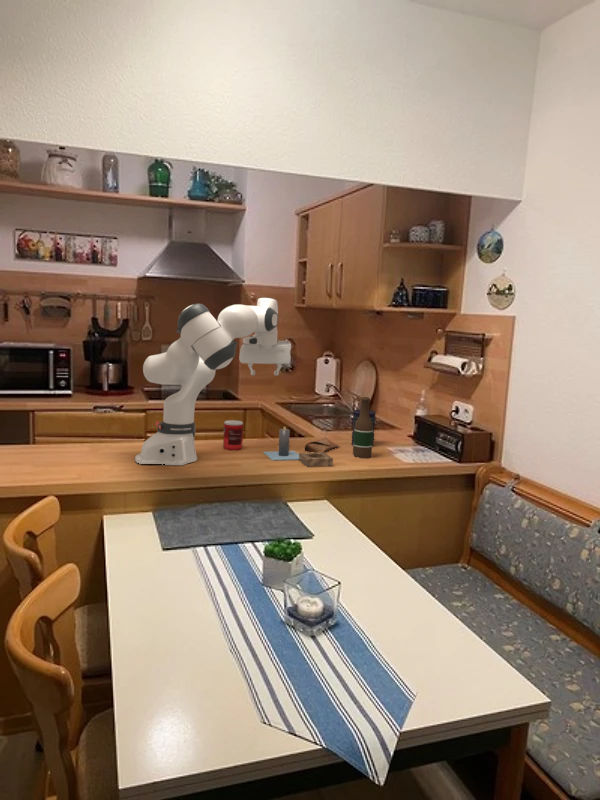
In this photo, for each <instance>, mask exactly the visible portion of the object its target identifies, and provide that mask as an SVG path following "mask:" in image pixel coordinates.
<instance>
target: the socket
mask: <svg viewBox="0 0 600 800" xmlns="http://www.w3.org/2000/svg"><path fill="white" fill-rule="evenodd" d="M298 454H299V460H298V461H299V462H300V461H301V462H302V463H301V462H300V463H301V464H303V466H305V467H306V466H307V467H306V468H314V467H313V466H328V467H333V464H334V458H333V456H332V457H331V456H330V455H329V454H327V452H325V453H324V452H318V453H311V452H299V453H298Z"/></svg>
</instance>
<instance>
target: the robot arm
mask: <svg viewBox="0 0 600 800" xmlns="http://www.w3.org/2000/svg"><path fill="white" fill-rule="evenodd" d="M278 305H279V304H278V300H276V299H275V298H273V297H260V298H258V299H257V303H256V305H246V304H240V303H238V304H234V303H233V304H232V305H228V306H226V307H225V308H223V309H222V310H221V311H220V313H219V314H218V316H217V319H216V318H215V317H214V316H213V314H211V312H210V309H208V307H206V306H205V305H204V304H203V303H194V304H191V305H188V306H187V307H185V308H184V309H183V310H182V311H181V313H180V314H179V315H178V317H177V318H178V319H177V329H175V331H176V333H178V334H179V335H180V336H179V338H178V339H177V340H175V341H174V342H172V343H171V344H170V346H169V347H168V348H167V351H165V352H162V353H157V354H153V355H149V356H148V357H147V358H146V359H145V360H144V363H143V365H142V371H143V376H144V378H145V379H146V380H147V381H148V382H149V383H151V384H152V383H153V384H157V385H165V386H166V385H170V386H171V385H173V386H174V385H175V386H177V385H180V386H181V388H180V390H179V391H177V392H175V393H173V394H171V395H169V396H167V397H166V398H165V400H164V402H163V414H162V415H163V417H162V419H163V420H162V421H159V420H158V421H156V422H155V426H156V428H157V432H156V433H154V434H153V435H151V436H149V438H147V439H146V440H145V441H144V442H143V444H142V446H141V449H140V453H138V454H136V455H135V457H134V462H135V463H137V464H138V463H139V465H141V464H162V465H161V466H184V465H186V464H189V463H194V462H196V461H197V460H198V456H197V452H196V444H195V437H196V436H195V435H196V423H195V408H196V407H195V406H196V402H197V399H198V396H199V394H200V392H201V391H202V390H203V389H204V388H205V387H206V386H207V385H209V384H210V383H211V382H212V381H213V380H214V378H215V376H216V370H221V369H224V368H226V367H227V366H229V365H230V363H231V362H232V361H233V359H234V358H235V356H236V351H237V346H238V342H237V341H235V339H240V338H241V339H242V343H243V344H242V345H241V346H240V349H239V357H238V358H239V360H238V361H239V362H240V363H241V364H247V367H248V368H249V370H250V375H251V376H255V375H256V370H255V369H253V366H254V364H259V365H260V364H261V365H262V364H263V365H267V364H268V365H276V367H277V368H276V370H273V375H274V376H279V374H280V373H279V372H280V371H281V369H282V366H283V365H289V364H290V363H291V362H292V361H291V359H292V358H291V350H292V343H291V342H290V341H288V340H278V332H279V331H278V324H279V307H278ZM252 334H253V335H252ZM163 464H165V465H163Z"/></svg>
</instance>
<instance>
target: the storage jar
mask: <svg viewBox="0 0 600 800" xmlns="http://www.w3.org/2000/svg"><path fill="white" fill-rule="evenodd" d="M352 412H353V415H352V424H353V425H352V432H351V445H352V446H353V441H354V427H355V423H356V420H357V419H358V418H359V415H360V409H354V410H353V411H352ZM376 413H377V411H374V410H370V409H369V416H370V419H371V421H372V424H373V440H372V446H373V447H374V443H375V424H376Z"/></svg>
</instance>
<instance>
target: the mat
mask: <svg viewBox="0 0 600 800" xmlns="http://www.w3.org/2000/svg"><path fill="white" fill-rule="evenodd" d="M278 452H279V450H276V451H275V450H274V451H263V452H262V453H263V454H264V455H265V456H266V455H267V456H268V457H269V458H270V459H271V461H272V460H273V461H272V462H275V460H278V462H279V461H280V460H281V461H299V453H298V452H297V451H295V450H289V455H288V456H279V455H278ZM267 456H266V457H267ZM268 457H267V458H268ZM269 458H268V459H269Z"/></svg>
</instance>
